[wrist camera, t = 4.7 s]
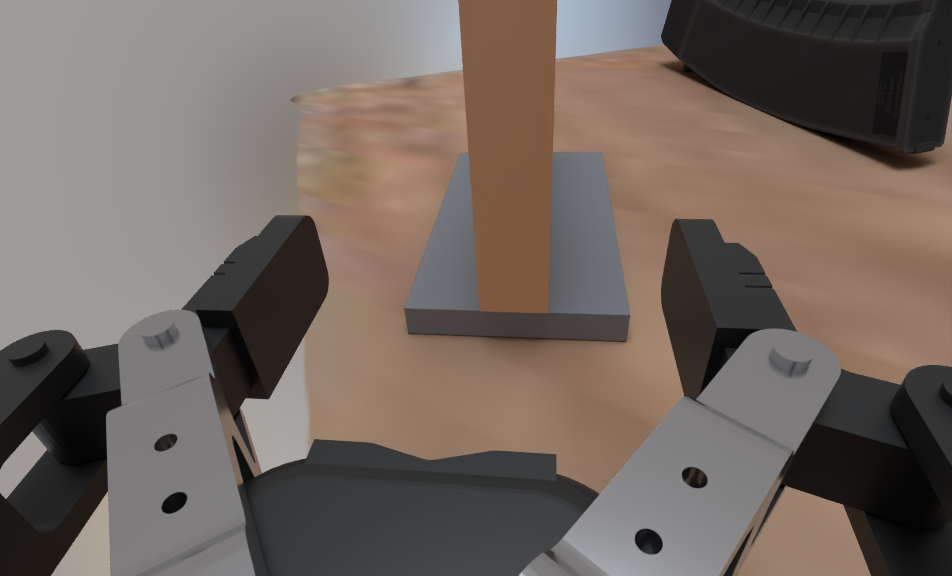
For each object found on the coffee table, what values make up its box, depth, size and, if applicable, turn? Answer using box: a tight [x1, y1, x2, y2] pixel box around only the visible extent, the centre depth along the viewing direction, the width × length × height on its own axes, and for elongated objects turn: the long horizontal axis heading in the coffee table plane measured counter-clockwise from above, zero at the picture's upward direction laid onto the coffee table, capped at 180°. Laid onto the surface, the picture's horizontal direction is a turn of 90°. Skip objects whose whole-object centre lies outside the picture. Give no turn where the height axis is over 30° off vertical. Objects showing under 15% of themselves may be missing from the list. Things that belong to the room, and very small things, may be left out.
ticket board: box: [404, 152, 630, 341], centre depth 27 cm, size 10×18×16 cm, turn 173°
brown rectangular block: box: [458, 0, 557, 313], centre depth 23 cm, size 3×8×14 cm, turn 173°
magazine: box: [661, 0, 952, 154], centre depth 45 cm, size 17×3×30 cm
